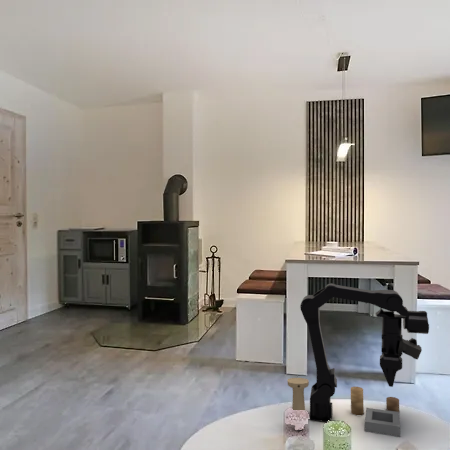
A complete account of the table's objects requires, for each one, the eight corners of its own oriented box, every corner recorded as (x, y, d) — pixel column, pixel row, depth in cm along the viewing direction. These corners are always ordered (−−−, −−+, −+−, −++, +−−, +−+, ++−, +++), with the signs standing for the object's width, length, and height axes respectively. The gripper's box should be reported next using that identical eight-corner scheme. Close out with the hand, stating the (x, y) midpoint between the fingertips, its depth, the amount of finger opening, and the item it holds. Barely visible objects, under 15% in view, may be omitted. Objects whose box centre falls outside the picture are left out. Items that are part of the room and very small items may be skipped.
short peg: (386, 412, 140) (386, 400, 140) (386, 407, 144) (386, 396, 144) (399, 414, 139) (399, 402, 139) (399, 409, 143) (399, 397, 143)
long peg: (350, 414, 140) (350, 390, 140) (351, 409, 144) (351, 385, 143) (363, 416, 138) (362, 391, 138) (364, 411, 142) (363, 387, 142)
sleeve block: (364, 431, 129) (364, 421, 129) (366, 416, 138) (366, 407, 138) (400, 436, 125) (400, 426, 125) (399, 421, 134) (399, 412, 134)
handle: (310, 433, 128) (309, 383, 128) (289, 432, 129) (288, 383, 129) (308, 425, 133) (307, 377, 133) (288, 425, 134) (287, 377, 133)
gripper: (421, 342, 121) (420, 396, 121) (418, 326, 138) (418, 374, 138) (379, 338, 125) (379, 390, 125) (382, 323, 142) (381, 369, 142)
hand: (391, 381), depth 133 cm, fingers open, 9 cm apart
